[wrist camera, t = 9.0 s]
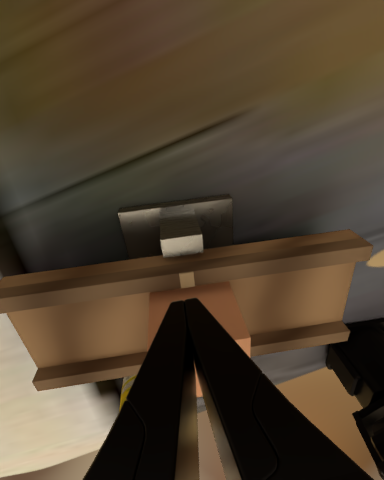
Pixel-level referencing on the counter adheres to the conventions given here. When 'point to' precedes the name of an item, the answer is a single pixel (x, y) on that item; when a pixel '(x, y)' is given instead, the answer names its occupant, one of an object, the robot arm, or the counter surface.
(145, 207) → the pivot stand
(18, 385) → the counter surface
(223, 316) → the rider block
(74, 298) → the brown tray
